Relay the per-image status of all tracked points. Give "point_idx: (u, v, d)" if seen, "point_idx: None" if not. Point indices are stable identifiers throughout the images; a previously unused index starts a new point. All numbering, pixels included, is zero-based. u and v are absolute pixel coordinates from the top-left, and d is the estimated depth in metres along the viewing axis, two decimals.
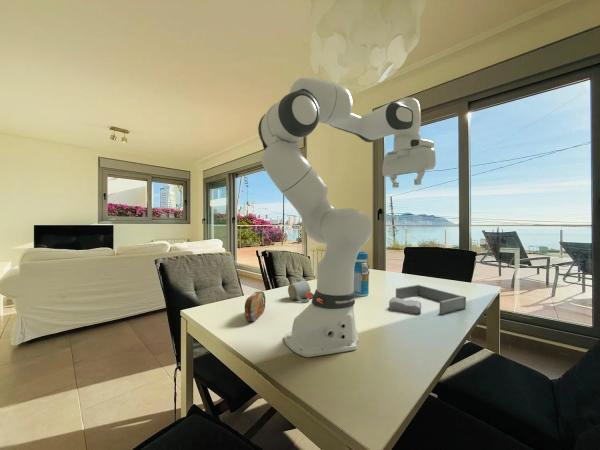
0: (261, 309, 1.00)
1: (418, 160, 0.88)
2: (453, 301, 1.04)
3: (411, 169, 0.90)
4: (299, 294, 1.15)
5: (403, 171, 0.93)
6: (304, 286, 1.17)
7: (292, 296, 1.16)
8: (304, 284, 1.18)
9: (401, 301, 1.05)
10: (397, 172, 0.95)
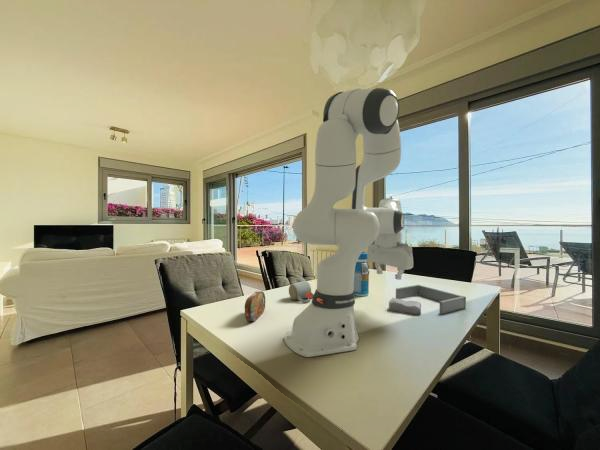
0: (261, 309, 1.00)
1: None
2: (453, 301, 1.04)
3: None
4: (300, 294, 1.15)
5: None
6: (305, 286, 1.17)
7: (293, 296, 1.16)
8: (304, 284, 1.17)
9: (401, 302, 1.04)
10: None
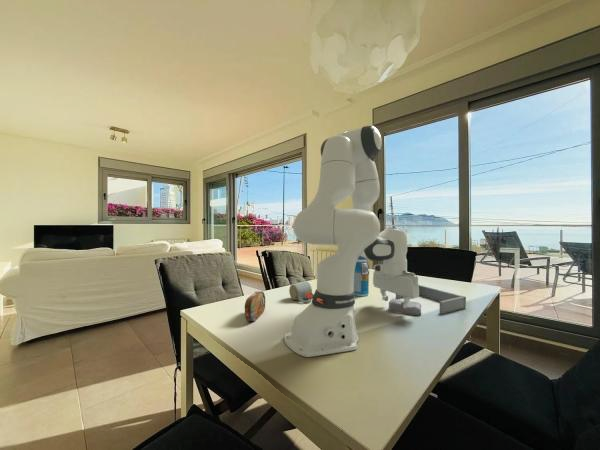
0: (261, 309, 1.00)
1: None
2: (453, 301, 1.04)
3: None
4: (300, 295, 1.14)
5: None
6: (305, 287, 1.16)
7: (294, 297, 1.15)
8: (305, 284, 1.17)
9: (401, 302, 1.03)
10: None
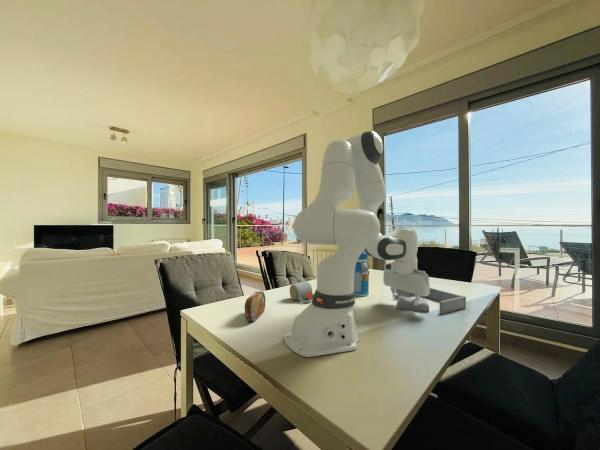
0: (261, 309, 1.00)
1: None
2: (453, 301, 1.04)
3: None
4: (301, 295, 1.14)
5: None
6: (306, 287, 1.16)
7: (294, 297, 1.15)
8: (305, 284, 1.17)
9: (409, 299, 1.06)
10: None
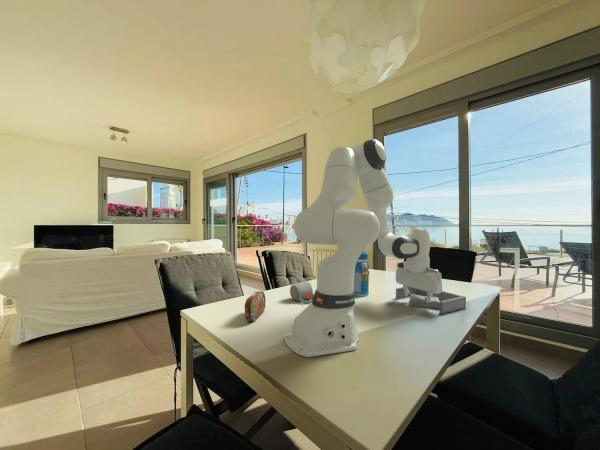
0: (261, 309, 1.00)
1: None
2: (453, 301, 1.04)
3: None
4: (301, 295, 1.14)
5: None
6: (306, 287, 1.16)
7: (294, 297, 1.15)
8: (306, 284, 1.16)
9: (421, 297, 1.10)
10: None
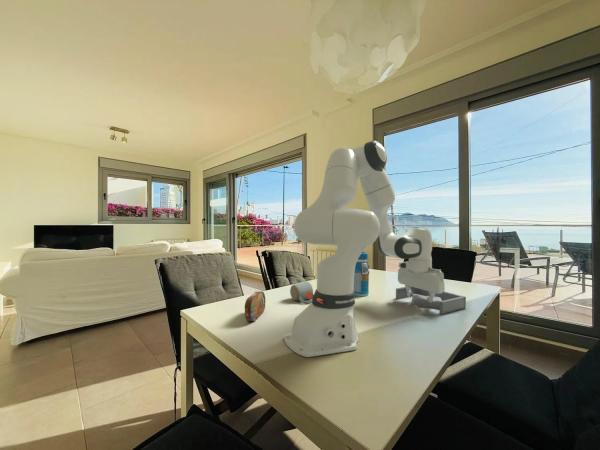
0: (261, 309, 1.00)
1: None
2: (453, 301, 1.04)
3: None
4: (301, 295, 1.13)
5: None
6: (306, 287, 1.15)
7: (294, 297, 1.15)
8: (306, 285, 1.16)
9: (424, 297, 1.10)
10: None
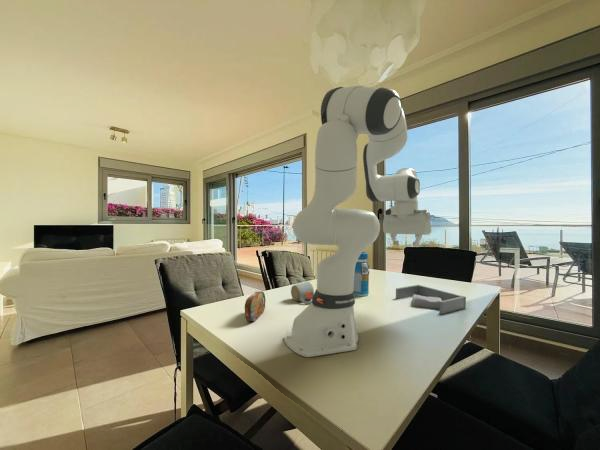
0: (261, 309, 1.00)
1: None
2: (453, 301, 1.04)
3: None
4: (302, 295, 1.13)
5: None
6: (307, 287, 1.15)
7: (295, 297, 1.14)
8: (307, 285, 1.16)
9: (424, 298, 1.09)
10: None
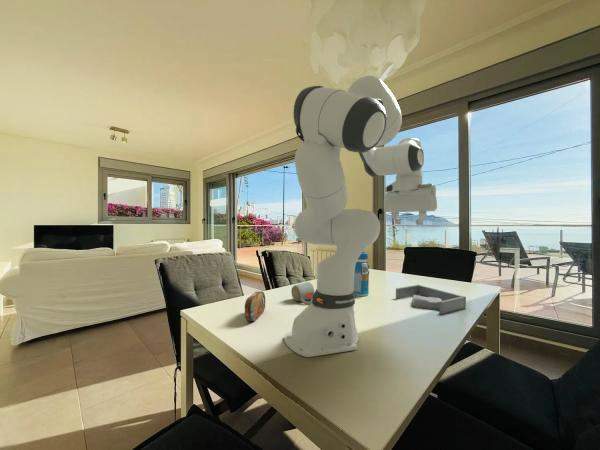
0: (261, 309, 1.00)
1: None
2: (453, 301, 1.04)
3: None
4: (303, 296, 1.13)
5: None
6: (308, 288, 1.14)
7: (296, 298, 1.14)
8: (307, 285, 1.15)
9: (424, 298, 1.09)
10: None
